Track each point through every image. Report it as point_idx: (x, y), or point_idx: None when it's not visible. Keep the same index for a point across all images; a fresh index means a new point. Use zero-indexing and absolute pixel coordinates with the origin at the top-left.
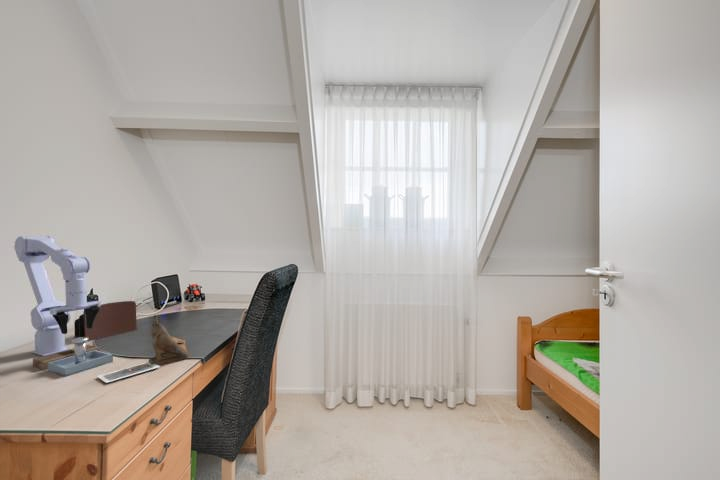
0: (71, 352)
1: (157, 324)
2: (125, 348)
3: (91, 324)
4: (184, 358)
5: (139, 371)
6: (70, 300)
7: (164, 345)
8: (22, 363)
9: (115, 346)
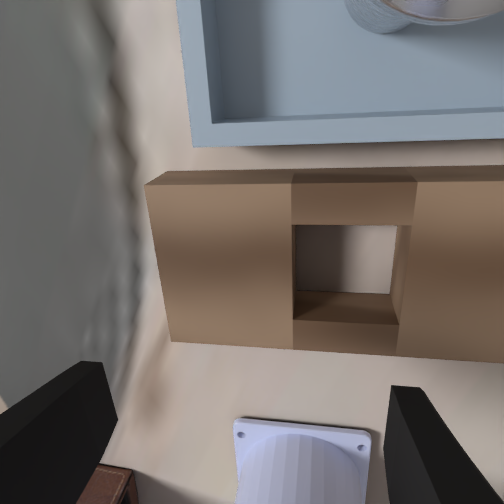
0: (296, 308)
1: None
2: (4, 135)
3: (51, 391)
4: None
5: None
6: None
7: None
8: (493, 430)
9: (43, 249)
